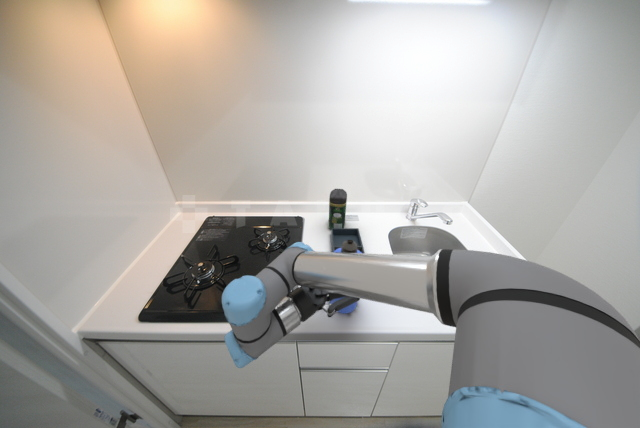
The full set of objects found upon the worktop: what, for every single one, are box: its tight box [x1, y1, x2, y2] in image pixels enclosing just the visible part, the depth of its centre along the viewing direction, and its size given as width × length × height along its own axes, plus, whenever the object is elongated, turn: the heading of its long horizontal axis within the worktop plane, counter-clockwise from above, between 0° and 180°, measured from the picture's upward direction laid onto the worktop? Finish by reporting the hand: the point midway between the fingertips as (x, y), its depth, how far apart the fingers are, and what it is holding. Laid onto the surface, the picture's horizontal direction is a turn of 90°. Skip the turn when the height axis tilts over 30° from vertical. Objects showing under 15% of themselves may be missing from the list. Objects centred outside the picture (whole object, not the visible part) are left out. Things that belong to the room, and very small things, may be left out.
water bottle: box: [329, 240, 361, 314], centre depth 60 cm, size 9×9×25 cm
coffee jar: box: [328, 188, 348, 230], centre depth 97 cm, size 10×8×19 cm
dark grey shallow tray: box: [330, 227, 366, 253], centre depth 85 cm, size 24×12×4 cm, turn 0°
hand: (357, 264), depth 62 cm, fingers closed on water bottle, 9 cm apart
